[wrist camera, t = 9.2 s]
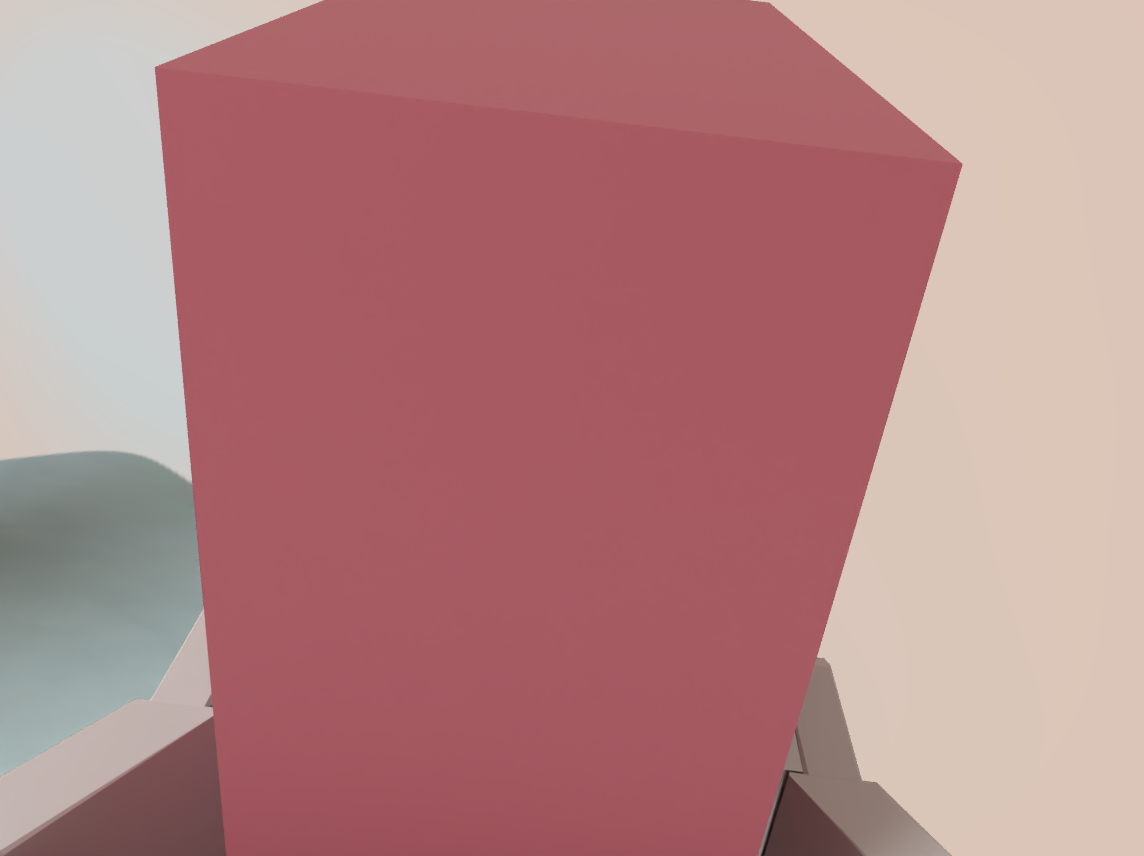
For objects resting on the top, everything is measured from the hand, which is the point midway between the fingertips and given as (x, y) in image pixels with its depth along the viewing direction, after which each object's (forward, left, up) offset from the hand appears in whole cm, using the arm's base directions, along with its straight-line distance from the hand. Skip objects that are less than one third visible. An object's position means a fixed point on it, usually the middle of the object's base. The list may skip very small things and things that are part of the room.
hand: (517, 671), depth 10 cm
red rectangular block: (+1, -1, -8) cm, 9 cm away
